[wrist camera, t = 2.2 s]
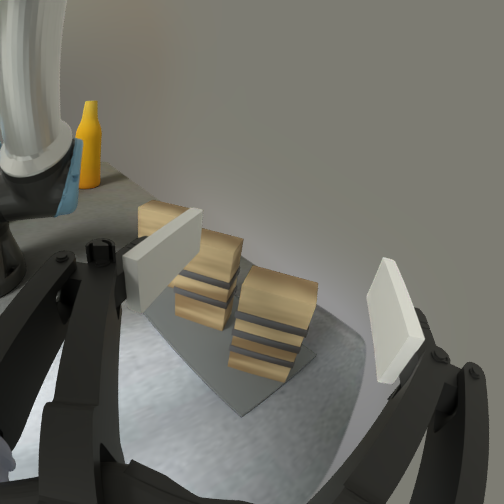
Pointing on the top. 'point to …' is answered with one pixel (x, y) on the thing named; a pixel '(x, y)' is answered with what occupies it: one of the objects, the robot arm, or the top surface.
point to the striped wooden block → (271, 322)
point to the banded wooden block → (157, 218)
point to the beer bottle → (90, 146)
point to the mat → (215, 354)
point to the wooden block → (209, 281)
